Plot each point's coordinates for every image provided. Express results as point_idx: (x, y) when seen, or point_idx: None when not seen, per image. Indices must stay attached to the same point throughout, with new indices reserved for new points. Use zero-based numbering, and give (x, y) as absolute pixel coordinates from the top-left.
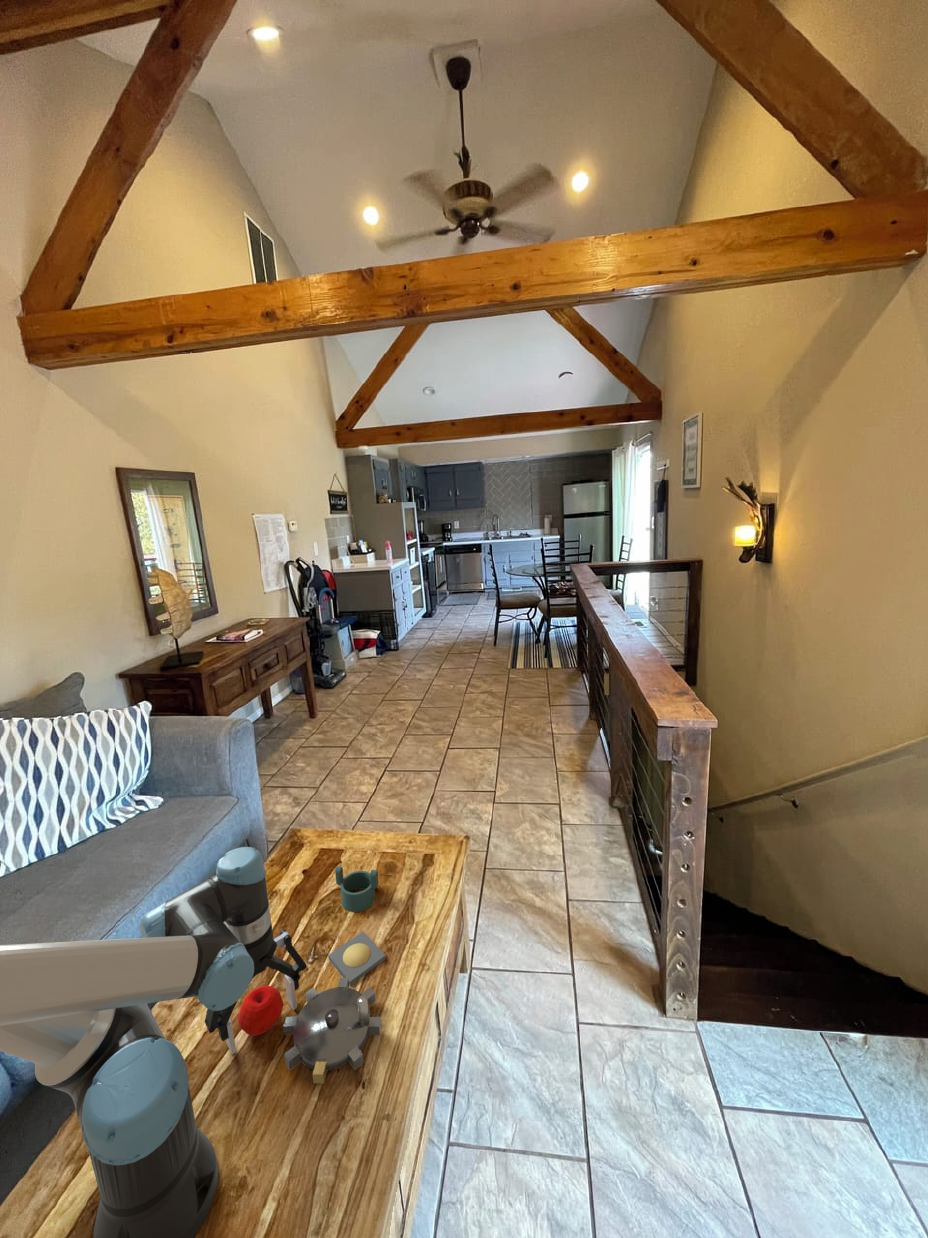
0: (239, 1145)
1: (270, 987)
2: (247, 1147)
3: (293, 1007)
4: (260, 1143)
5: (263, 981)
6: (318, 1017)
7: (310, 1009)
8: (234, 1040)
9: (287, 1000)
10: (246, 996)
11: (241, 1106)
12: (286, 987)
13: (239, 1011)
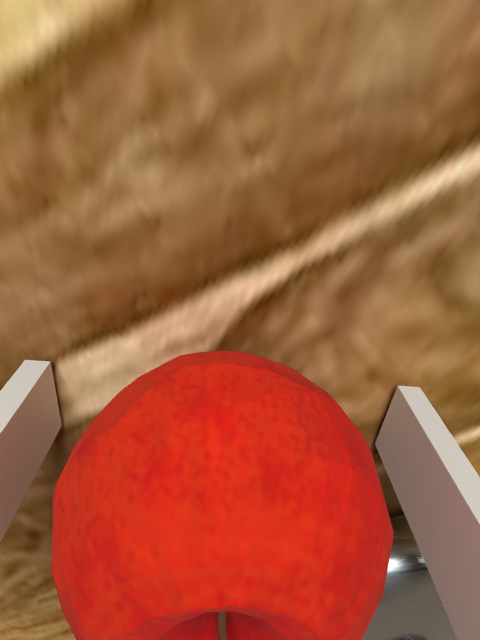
0: (5, 618)
1: (358, 631)
2: (25, 628)
3: (383, 457)
4: (58, 636)
5: (433, 96)
6: (396, 629)
7: (408, 595)
8: (25, 493)
9: (400, 390)
10: (145, 528)
11: (32, 565)
12: (450, 499)
13: (69, 486)
